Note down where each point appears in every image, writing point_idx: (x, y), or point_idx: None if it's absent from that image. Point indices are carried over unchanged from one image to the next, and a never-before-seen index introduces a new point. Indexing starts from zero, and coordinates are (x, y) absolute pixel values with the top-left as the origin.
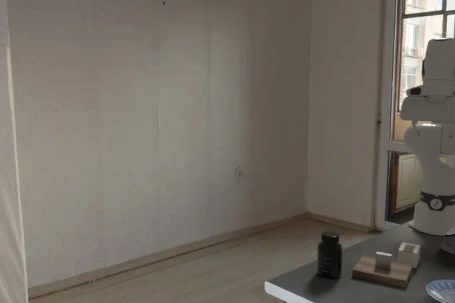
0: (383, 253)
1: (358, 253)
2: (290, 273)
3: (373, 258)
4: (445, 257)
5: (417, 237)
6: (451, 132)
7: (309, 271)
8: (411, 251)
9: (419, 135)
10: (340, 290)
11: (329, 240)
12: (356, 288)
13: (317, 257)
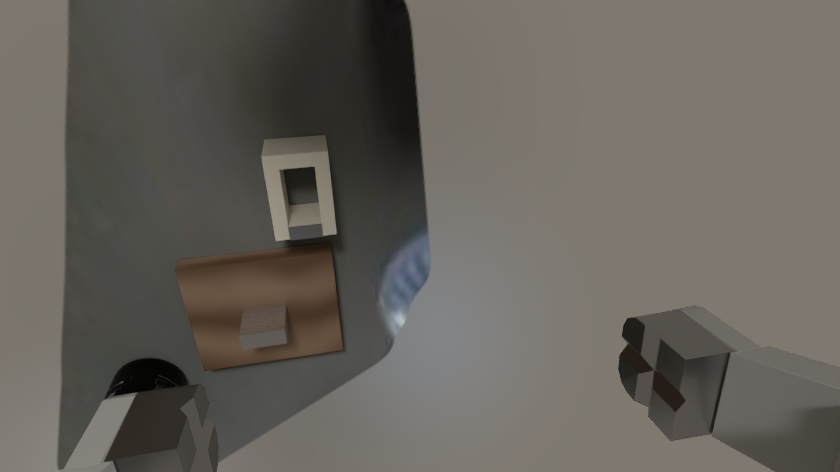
0: (261, 338)
1: (127, 200)
2: (65, 428)
3: (214, 273)
4: (398, 61)
5: None
6: (695, 429)
7: (96, 394)
8: (318, 235)
9: (214, 451)
10: (222, 424)
11: None
12: (247, 399)
13: None
